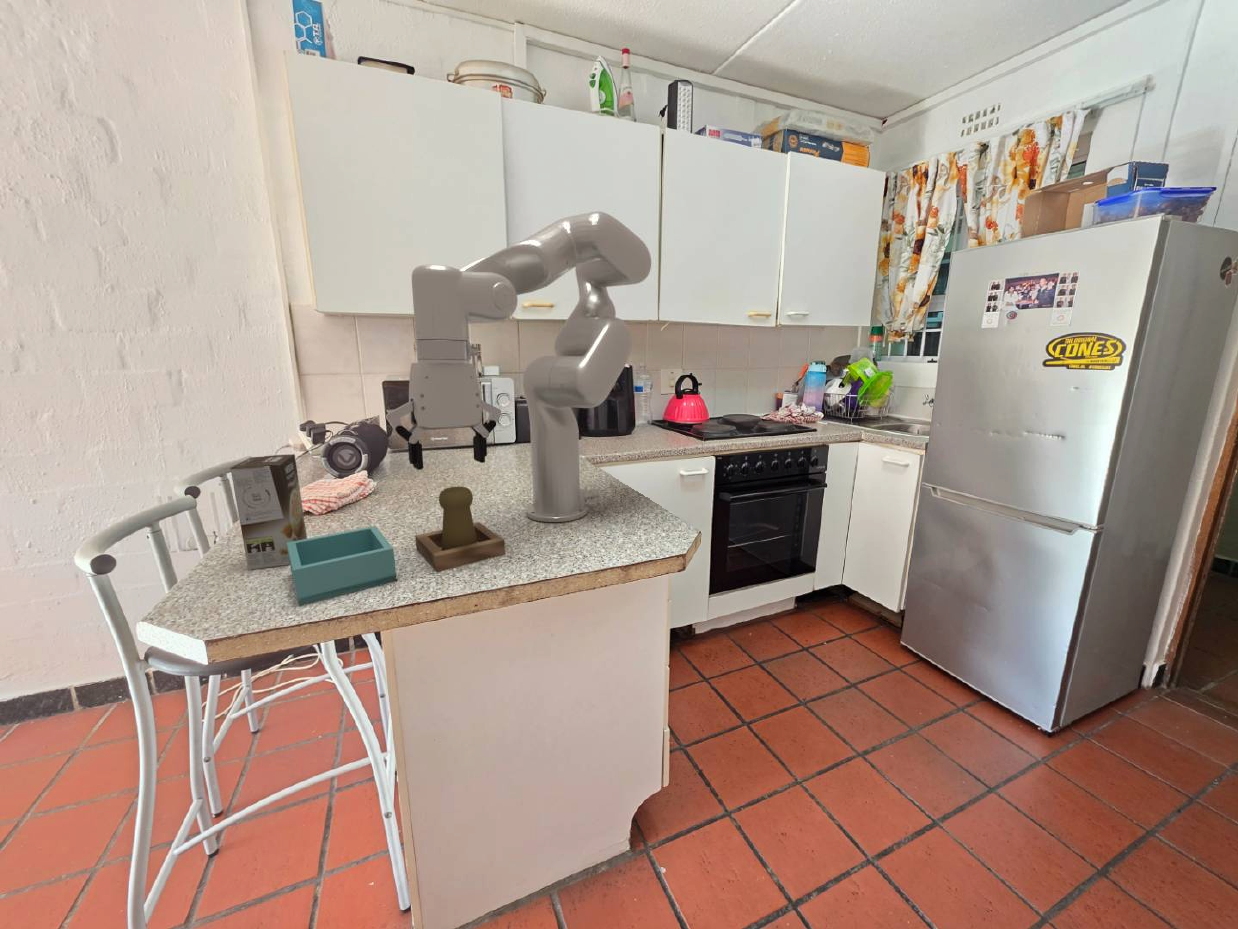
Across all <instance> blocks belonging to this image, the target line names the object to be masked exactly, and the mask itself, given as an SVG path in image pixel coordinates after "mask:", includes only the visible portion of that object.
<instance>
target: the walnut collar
mask: <svg viewBox="0 0 1238 929" xmlns="http://www.w3.org/2000/svg"><path fill="white" fill-rule="evenodd" d="M473 524H474V528H475V533H476V537H477V542H478V543H474V544H470V545H466V546H462V547H457V548H453V549H449V550H445V551H442V550H441V547H442V529H438V530H435V531H429V532H425V533H420V534H416V535H415V538H414V539H415V546H416V548H415V549H416V551H417V552H418V554H420V555H421V556H422V557H423V559H425V561H426V562H427V563H428V564H429V565H430V567H432V568H433V570H434V571H435V572H436V573H438V572H442V571H445V570H450V569H453V568H457V567H462V566H465V565H469V564H473V563H478V562H481V561H484V560H488V558H489V559H492V558H496V557H500V556H501V557H502V556H504V554H505V555H506V546H505V542H506V541H505V539H503V537H501V536H500V535H498V534H496V533H495V532H494V531H492V530H491V529H489V527H487V526H485V525H484V524H483V523H481V522H480V521H478V522H473Z"/></svg>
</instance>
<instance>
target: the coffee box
mask: <svg viewBox="0 0 1238 929" xmlns="http://www.w3.org/2000/svg"><path fill="white" fill-rule="evenodd" d="M229 470H230V473H231V478H232V484H233V490H234V496H235V502H236V507H237V514H238V518H239V525H240V529H241V530H240V531H241V537H242V541H243V548H244V552H245V558H246V563H247V569H248V570H250V571H251V570H258V569H266V568H272V567H279V566H282V567H283V566H290V560H289V554H288V548H287V542H292V541H298V540H303V539H308V536H307V528H306V524H305V516H304V515H305V514H304V509H303V500H302V496H301V494H302V493H301V489H300V481H299V475H298V468H297V462H296V455H295V454H294V453H293V454H292V453H291V454H273V455H263V456H252V457H249V458H248V459H245V460H243V461H241V462H239V463H237V464H235V465H233V466H231V467H230V468H229Z"/></svg>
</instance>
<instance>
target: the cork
mask: <svg viewBox="0 0 1238 929" xmlns="http://www.w3.org/2000/svg"><path fill="white" fill-rule="evenodd" d="M473 499H474V498H473V493H472V491H471V490H470V488H468V487H465V486H451V487H447V488H444V489H443V490H441V491H440V493H439V497H438V503H439V506H440V507H441V508H442V509H443V510H442V511H443V513H442V514H443V515H442V529H441V530H442V547H440V549H441V550H442V551H445V550H449V549H453V548H457V547H462V546H466V545H470V544H474V543H479V542H477V537H476V533H475V528H474V524H473V523H474V520H473V519H474V518H473V516H472V515H473V514H472V511H471V510H472V509H471V506H472V504H473Z"/></svg>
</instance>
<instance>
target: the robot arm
mask: <svg viewBox="0 0 1238 929" xmlns="http://www.w3.org/2000/svg"><path fill="white" fill-rule="evenodd" d="M574 268H575V277H576V281H577V287H578V302H577V304H576V305H575V307H574V308H573V310H572V312H571V313H570V315H569V316H568V318H567V319H566V321H565V322H564V324H563V325H562V327H561V329H560V330H559V331H558V332H557V335H556V338H555V340H554V344H553V345H554V347H553V348H554V349H553V350H554V352H555V354H556V355H546V356H540V357H537V358H535V359H533V360H531V361H530V362H529V363H528V364H527V365H526V367H525V369H524V371H523V375H522V388H523V392H524V396H525V401H526V405H527V406H526V407H527V410H528V417H529V418H528V419H529V428H530V429H529V430H530V432H529V433H530V453H531V454H530V456H531V478H532V479H531V480H532V482H531V483H532V500H533V501H532V503H531V504H529V505H528V506H527V507H526V508H525V515H526V516H527V517H528V518H529V519H531V520H534V521H536V522H542V523H543V522H544V523H563V522H570V521H571V522H572V521H574V520H578V519H582V518H583V517H585V515H587V514H588V511H589V510H588V507H589V506H588V505H587V504H586V502H587V501H588V500H593V499H594V500H595V499H598V498H600V496H601V492H600V490H599V489H598V488H595V489H590V490H588V489H587V488H581V487H580V486H581V484H580V480H581V479H580V451H579V449H580V448H579V446H580V445H579V444H580V443H579V438H580V436H579V434H580V432H579V425H578V421H577V419H576V416H575V414H574V412H573V410H572V408H579V409H581V408H582V409H591V408H595V407H598V406H600V405H601V404H602V403H604V401H606V399H607V398H608V396H609V395H610V393H611V391H612V389H613V388H614V386H615V385H616V382H617V381H618V378H619V377H620V375H621V373H622V372H623V370H624V369H625V367H626V364H627V363H628V361H629V358H630V356H631V352H632V342H633V341H632V339H633V338H632V333H631V330H630V328H629V326H628V324H627V323H626V322H625V321H624V320H622V319H621V318H620V317H619V318H618V317H616V308H615V304H614V302H613V301H612V299H611V298H610V296H609V293H608V288H610V287H620V286H629V285H637V284H640V283H642V282H644V281H645V280H646V279H647V278H648V276H649V274H650V272H651V269H652V257H651V253H650V251H649V248H648V247H647V245H646V243H645V242H644V241H643V240H642V239H641V238H640V237H639V236H638V235H636V234H635V233H634V232H633V231H632V230H631V229H629V228H628V227H627V226H626V225H624V224H623V223H622V222H621V221H620V220H619V219H617V218H616V217H614V216H612V215H610V214H609V213H606V212H604V211H600V210H599V211H597V210H596V211H590V212H585V213H580V214H577V215H571V216H566V217H563V218H560V219H558V220H556V221H554V222H552V223H551V224H548V226H545V227H544V228H542V229H540V230H538V231H537V232H535V233H534V234H531V235H529V236H528V237H526V238H524V239H522V240H521V241H519V242H517V243H514V244H511V245H509V246H506V247H505V248H502V249H500V250H498V251H497V252H495V253H493V254H490V255H488V256H485V257H483V258H480V259H478V260H476V261H474V262H471V263H470V264H467V265H466V266H464V267H462V268H460V269H458V268H457V267H453V266H450V265H444V264H443V265H441V264H423V265H419V266H417V267H415V268H414V269H413V270H412V272H411V290H412V291H411V292H412V303H413V304H412V306H413V320H414V334H415V348H416V349H415V350H416V362H411V364H410V371H409V379H408V380H409V383H408V402H405V403H404V404H402V405H401V406H398V407H397V408H395V409H393V410H392V411H391V410H390V411H389V412H387V413H386V415H385V419H386V420H387V422H388V423H389V424H390V426H391V427H392V429H393V431H394V432H395V433H396V434H397V435H399V436H400V437H401V438H403V439H404V441H406V442H407V448H408V461H409V464H410V465H412V466H413V468H415V469H416V470H418V471H422V470H423V469H424V459H423V458H424V456H423V445H422V443H420V439H421V438H422V436H423V435H424V433H425V432H426V431H434V430H435V431H437V430H449V429H451V430H452V429H464V428H470V429H471V430H472V431H473V432H474V433H475V435H473V437H472V443H473V444H472V446H473V447H472V448H473V460H474V461H476V462H478V463H481V464H483V463H486V457H487V456H488V446H487V444H488V443H487V438H489V436H490V434H491V432H492V431H493V430H494V429H495V428H496V426H497V422H498V420H499V418H500V416H501V414H502V410H501V409H500V408H498V407H496V406H494V405H492V404H490V403H488V402H486V401H483V400H482V399H481V392H480V385H479V380H478V375H477V374H478V373H477V370H476V367H475V363H471V361H470V360H472V357H474V356H478V355H479V349H478V347H477V346H473V345H471V342H469V341H470V339H469V325H470V324H491V323H492V324H493V323H499V322H503V321H505V320H507V319H509V318H510V317H511V316H512V315H514V313H515V311H516V309H517V306H518V296H519V295H520V296H521V295H524V294H530V293H533V292H536V291H538V290H541V289H544V288H547V287H548V286H551V284H552V283H554V282H556V281H557V280H559V279H560V278H561V277H563V276H564V275H565V274H566V273H568V272H570V271H571V270H572V269H574ZM483 411H484V412H486V413H488V417H487V420H486V421H485V422H484V423H483V424H482V420H483ZM406 415H409V421H410V424H411V425H412V426H411V428H410V429H409V430H408V429H407V428H406V427H404V426H403V424H402V422H401V418H402V417H404V416H406Z"/></svg>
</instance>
